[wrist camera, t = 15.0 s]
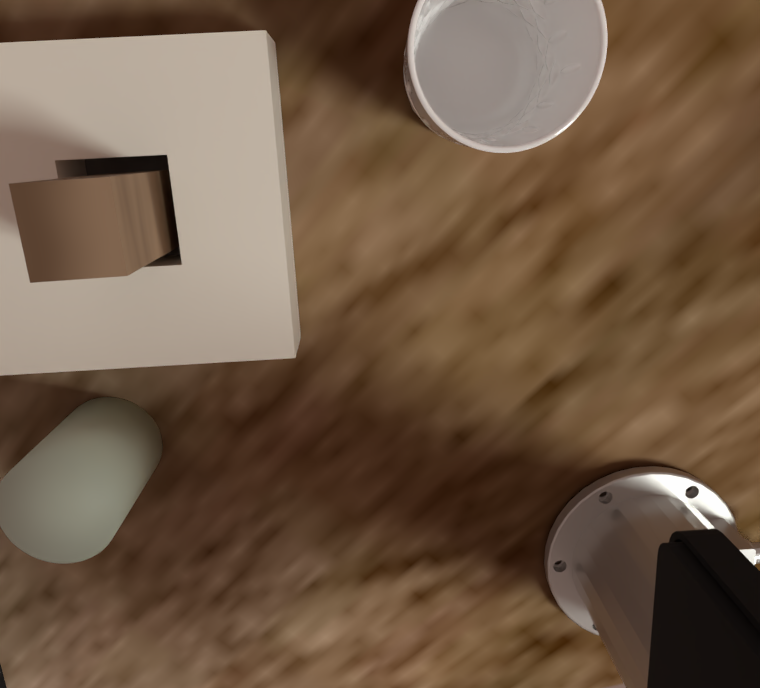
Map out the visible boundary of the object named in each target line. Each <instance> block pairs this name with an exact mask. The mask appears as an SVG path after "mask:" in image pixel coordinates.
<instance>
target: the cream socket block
mask: <svg viewBox="0 0 760 688" xmlns="http://www.w3.org/2000/svg"><path fill="white" fill-rule="evenodd" d="M154 170H169V172H170V180H171V187H172V195H173V202H174V210H175V217H176V224H177V232H178V239H179V247H177V248H176V249H174V250H172V251H170V252H169V253H167V254H165V255H163V256H162V257H160V258H158V259H156V260H155V261H153V262H151V263H149V264H148V265H146V266H144V267H142V268H141V269H139V270H137V271H135V272H133V273H132V274H130V275H128V276H120V277H106V278H92V279H78V280H64V281H49V282H35V283H30V280H29V275H28V271H27V266H26V261H25V257H24V252H23V248H22V243H21V238H20V234H19V229H18V225H17V220H16V215H15V211H14V206H13V202H12V197H11V192H10V188H9V184H10V183H20V182H30V181H39V180H49V179H58V178H68V177H78V176H87V175H97V174H110V173H125V172H140V171H154ZM300 339H301V333H300V321H299V310H298V298H297V287H296V275H295V264H294V252H293V241H292V229H291V218H290V206H289V195H288V183H287V171H286V160H285V148H284V137H283V125H282V114H281V102H280V91H279V79H278V68H277V56H276V44H275V42H274V41H273V39H272V38H271V37H270V35H269V34H268V32H267V31H266V30H260V31H239V32H217V33H196V34H175V35H154V36H133V37H112V38H91V39H70V40H48V41H27V42H6V43H0V375H17V374H34V373H51V372H68V371H85V370H102V369H119V368H136V367H152V366H169V365H186V364H203V363H220V362H237V361H254V360H271V359H288V358H295V357H296V354H297V350H298V346H299V343H300Z"/></svg>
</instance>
